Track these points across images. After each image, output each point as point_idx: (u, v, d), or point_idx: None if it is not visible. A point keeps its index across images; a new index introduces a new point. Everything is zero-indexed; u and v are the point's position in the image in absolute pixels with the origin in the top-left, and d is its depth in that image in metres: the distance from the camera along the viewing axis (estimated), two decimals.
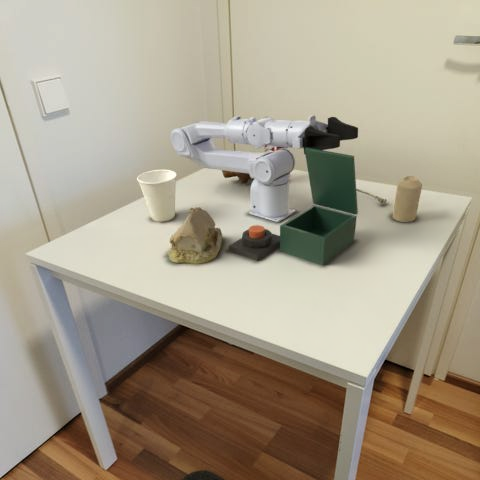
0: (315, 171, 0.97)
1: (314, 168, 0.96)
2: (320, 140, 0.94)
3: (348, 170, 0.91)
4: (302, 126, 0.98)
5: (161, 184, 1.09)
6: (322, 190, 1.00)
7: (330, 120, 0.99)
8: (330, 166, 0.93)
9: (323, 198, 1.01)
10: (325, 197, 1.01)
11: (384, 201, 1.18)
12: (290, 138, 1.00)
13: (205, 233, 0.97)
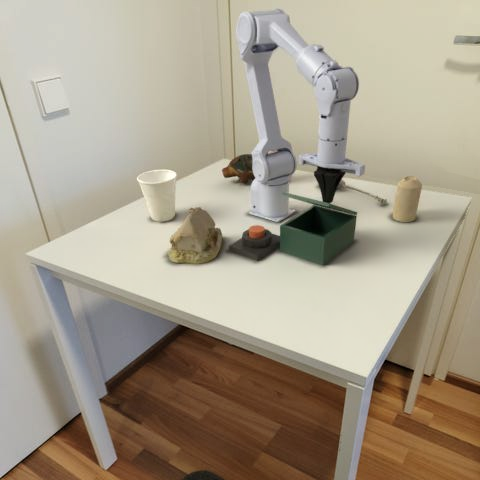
0: None
1: None
2: None
3: (330, 207, 0.91)
4: None
5: (161, 184, 1.09)
6: None
7: None
8: (313, 203, 0.93)
9: None
10: None
11: (384, 201, 1.18)
12: (344, 144, 0.89)
13: (205, 233, 0.97)
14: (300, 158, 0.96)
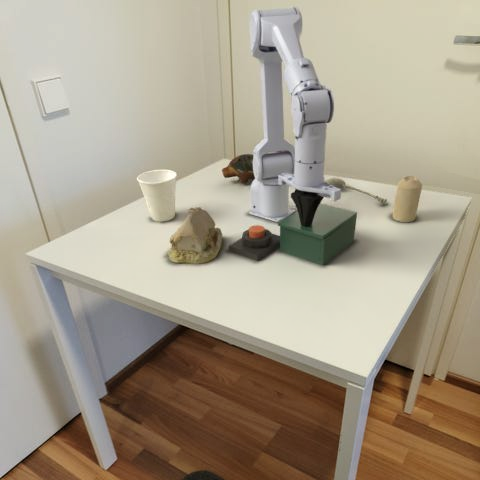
0: None
1: None
2: (311, 207, 0.92)
3: None
4: None
5: (161, 184, 1.09)
6: None
7: None
8: None
9: None
10: None
11: (384, 201, 1.18)
12: (320, 167, 0.85)
13: (205, 233, 0.97)
14: (279, 178, 0.93)
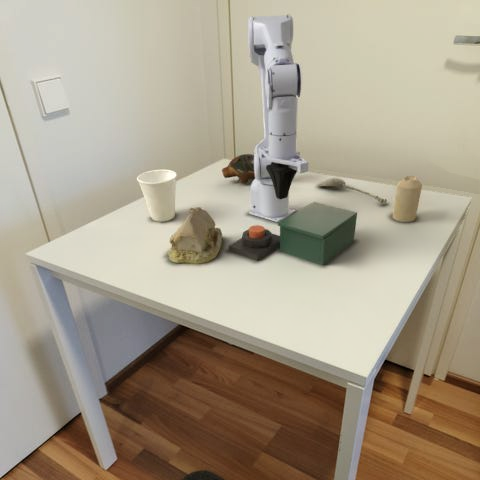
0: None
1: None
2: (285, 179, 0.96)
3: None
4: None
5: (161, 184, 1.09)
6: None
7: None
8: None
9: None
10: None
11: (384, 201, 1.18)
12: (290, 140, 0.89)
13: (205, 233, 0.97)
14: (259, 151, 0.98)
